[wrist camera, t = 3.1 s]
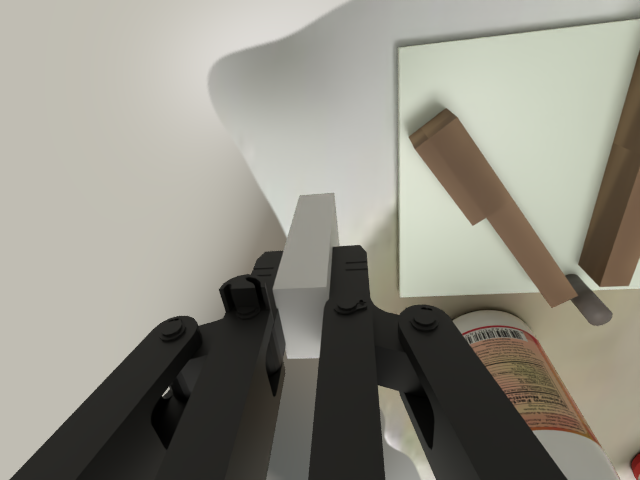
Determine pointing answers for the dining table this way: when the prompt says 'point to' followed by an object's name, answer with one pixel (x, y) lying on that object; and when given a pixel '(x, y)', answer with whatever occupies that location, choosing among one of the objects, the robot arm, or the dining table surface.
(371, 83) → the dining table surface
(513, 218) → the arm
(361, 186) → the dining table surface
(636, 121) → the tongs fixed
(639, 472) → the canned food
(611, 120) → the board
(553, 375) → the fruit juice
